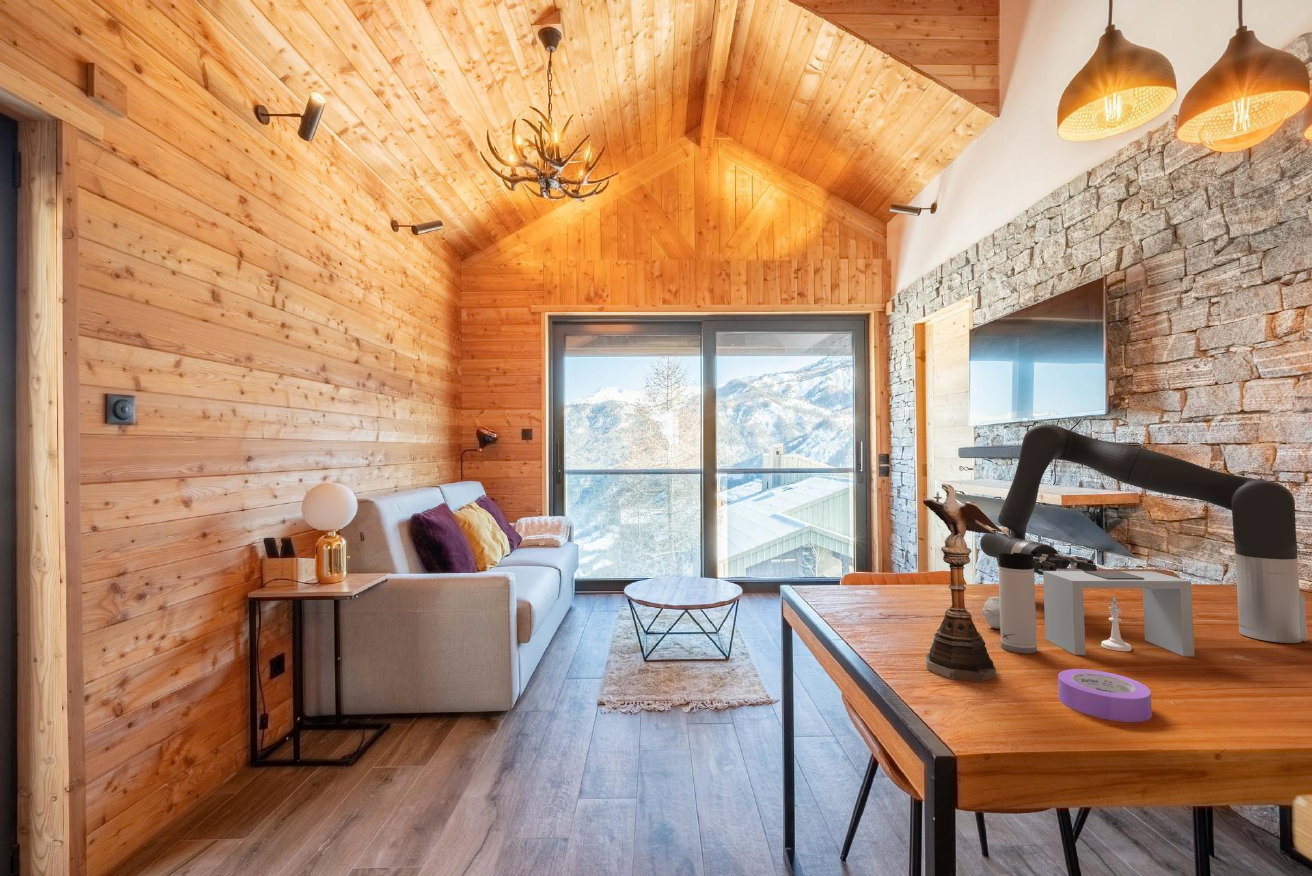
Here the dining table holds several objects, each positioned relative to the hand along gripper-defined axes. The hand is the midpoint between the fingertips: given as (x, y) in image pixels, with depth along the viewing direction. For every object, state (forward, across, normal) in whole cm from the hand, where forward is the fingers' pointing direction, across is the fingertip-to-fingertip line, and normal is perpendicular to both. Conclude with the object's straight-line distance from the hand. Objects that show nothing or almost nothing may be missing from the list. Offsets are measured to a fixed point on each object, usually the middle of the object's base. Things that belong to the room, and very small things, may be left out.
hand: (1074, 569), depth 132 cm
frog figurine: (0, -17, +14) cm, 22 cm away
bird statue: (+24, -35, +14) cm, 45 cm away
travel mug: (+14, -20, +14) cm, 28 cm away
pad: (+12, 0, -1) cm, 12 cm away
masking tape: (+42, -21, +14) cm, 48 cm away
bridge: (+12, 0, +13) cm, 18 cm away
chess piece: (+12, 0, +14) cm, 18 cm away
